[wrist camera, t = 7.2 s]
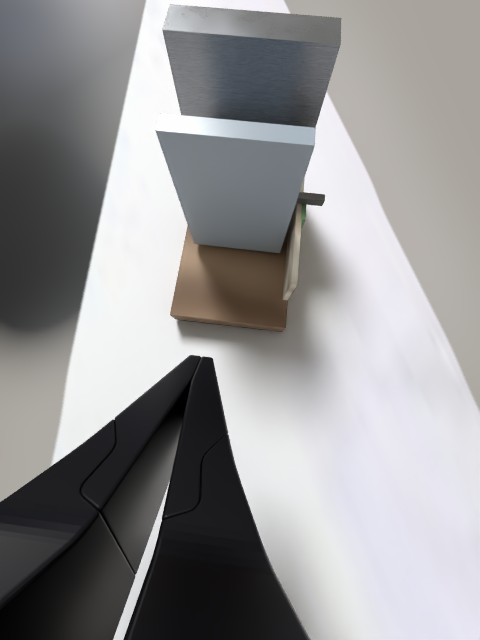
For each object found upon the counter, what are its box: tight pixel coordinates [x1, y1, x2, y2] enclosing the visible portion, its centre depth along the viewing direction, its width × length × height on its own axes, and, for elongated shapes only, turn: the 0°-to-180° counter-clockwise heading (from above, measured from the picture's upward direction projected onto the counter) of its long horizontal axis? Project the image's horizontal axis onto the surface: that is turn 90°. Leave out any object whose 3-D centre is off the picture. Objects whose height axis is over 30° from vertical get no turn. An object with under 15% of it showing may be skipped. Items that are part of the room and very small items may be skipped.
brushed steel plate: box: [162, 4, 341, 128], centre depth 17 cm, size 2×9×10 cm, turn 83°
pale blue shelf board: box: [156, 113, 325, 253], centre depth 15 cm, size 4×9×9 cm, turn 83°
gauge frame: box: [170, 180, 306, 332], centre depth 19 cm, size 14×9×5 cm, turn 173°
